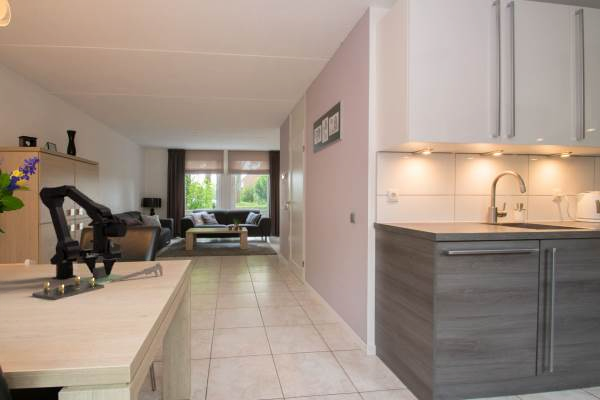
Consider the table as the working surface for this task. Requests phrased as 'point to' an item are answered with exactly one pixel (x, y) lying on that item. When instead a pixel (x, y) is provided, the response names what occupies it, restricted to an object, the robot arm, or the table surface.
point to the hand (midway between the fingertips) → (100, 274)
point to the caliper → (145, 271)
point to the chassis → (67, 289)
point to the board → (100, 276)
